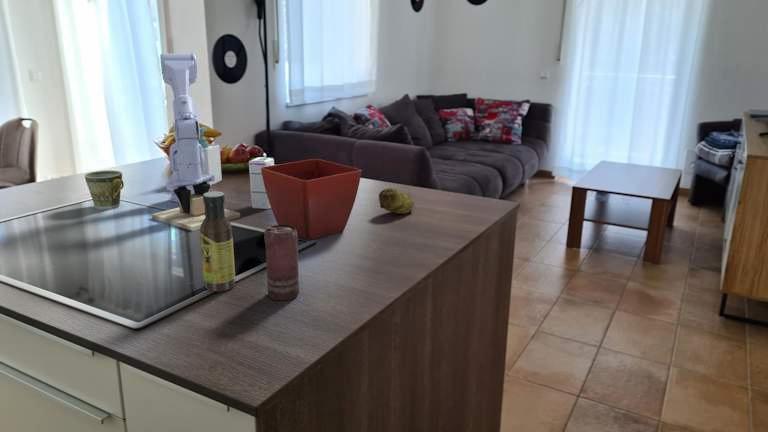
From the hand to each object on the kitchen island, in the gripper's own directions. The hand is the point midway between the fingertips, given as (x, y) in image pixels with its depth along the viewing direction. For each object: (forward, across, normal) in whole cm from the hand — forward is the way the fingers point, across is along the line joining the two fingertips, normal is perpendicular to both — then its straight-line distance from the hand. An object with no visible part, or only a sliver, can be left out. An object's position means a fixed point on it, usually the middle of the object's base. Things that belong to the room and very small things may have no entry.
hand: (193, 210), depth 165 cm
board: (+2, 0, -1) cm, 2 cm away
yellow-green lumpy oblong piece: (+2, +39, -43) cm, 58 cm away
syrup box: (+2, +20, -7) cm, 21 cm away
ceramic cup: (+2, -9, +27) cm, 29 cm away
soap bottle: (+2, +28, +31) cm, 42 cm away
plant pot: (+2, +12, -34) cm, 36 cm away
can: (+2, -22, -57) cm, 61 cm away
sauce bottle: (+2, -27, -44) cm, 52 cm away
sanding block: (+1, 0, 0) cm, 1 cm away
